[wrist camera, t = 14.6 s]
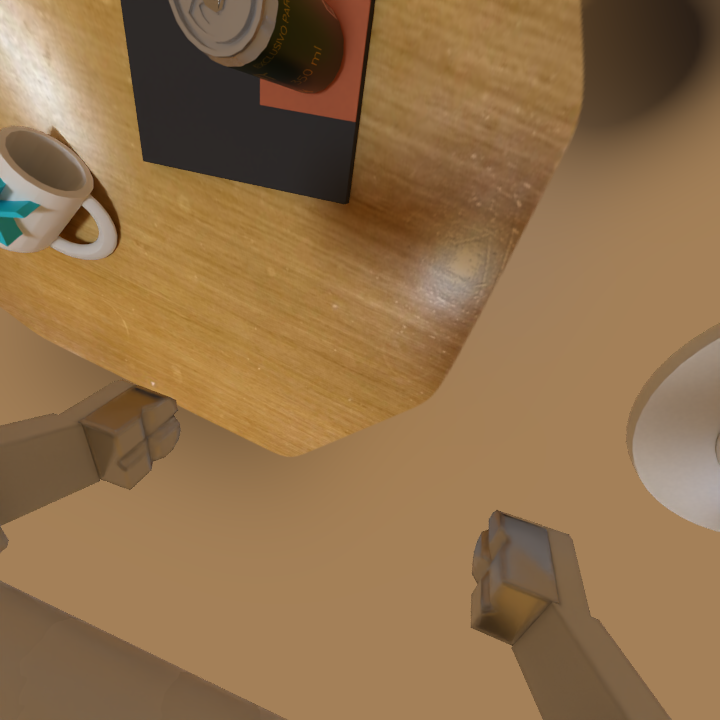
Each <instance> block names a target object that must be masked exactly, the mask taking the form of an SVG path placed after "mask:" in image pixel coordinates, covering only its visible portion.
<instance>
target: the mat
mask: <svg viewBox="0 0 720 720" xmlns="http://www.w3.org/2000/svg"><path fill="white" fill-rule="evenodd" d="M324 1H325V2H326V3H327V4H328V5H329V6H330V7H331V8H332V9H333V11H334V13H335V15H336V17H337V18H338V20H339V22H340V25H341V30H342V34H343V38H344V45H343V58H342V62H341V66H340V69H339V71H338V73H337V75H336V77H335V78H334V80H333V81H332V82H331V83H330V84H329V85H328V86H327V87H326V88H325V89H324V90H321V91H319V92H316V93H301V92H299V91H296V90H293V89H290V88H287V87H284V86H281V85H278V84H275V83H273V82H270V81H267V80H264V79H261V78H258V77H255V76H252V75H249V74H247V73H244V72H241V71H238V70H235V69H232V68H229V67H226V66H224V65H222V64H219V63H217V62H215V61H212V60H211V59H210V58H209V57H208V56H207V55H206V54H204V53H203V52H202V51H201V50H200V49H198V48H197V47H196V46H195V45H194V44H193V43H192V42H191V41H190V40H189V39H188V38H187V37H186V35H185V34H184V32H183V31H182V29H181V28H180V26H179V25H178V23H177V21H176V19H175V16H174V13H173V11H172V8H171V5H170V3H169V0H121V6H122V13H123V21H124V28H125V35H126V42H127V49H128V56H129V63H130V70H131V77H132V84H133V91H134V98H135V105H136V113H137V120H138V127H139V134H140V141H141V148H142V155H143V161H146V162H150V163H155V164H160V165H164V166H169V167H174V168H178V169H183V170H188V171H192V172H197V173H202V174H206V175H211V176H215V177H220V178H225V179H229V180H234V181H239V182H243V183H248V184H253V185H257V186H262V187H267V188H271V189H276V190H281V191H285V192H290V193H295V194H299V195H304V196H308V197H313V198H318V199H322V200H327V201H332V202H336V203H341V204H347V203H349V197H350V189H351V181H352V174H353V166H354V158H355V150H356V143H357V135H358V127H359V119H360V112H361V104H362V96H363V88H364V81H365V73H366V65H367V57H368V50H369V42H370V34H371V26H372V19H373V11H374V3H375V0H324Z"/></svg>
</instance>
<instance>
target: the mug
mask: <svg viewBox="0 0 720 720" xmlns="http://www.w3.org/2000/svg"><path fill="white" fill-rule="evenodd" d="M93 188H94V185H93V177H92V175H91V173H90V171H89V169H88V167H87V166H86V165H85V163H84V162H83V161H82V159H81V158H80V157H79V156H77V155H76V154H75V153H74V152H73V151H72V150H71V149H70V148H69V147H67V146H66V145H64V144H63V143H61V142H60V141H59V140H57V139H55V138H53V137H51V136H49V135H47V134H45V133H44V132H41V131H38V130H35V129H32V128H29V127H23V126H10V127H5V128H3V129H2V130H1V131H0V247H1V248H3V249H6V250H9V251H14V252H21V253H30V252H37V251H41V250H43V249H46V248H48V247H49V246H50V247H52V248H54V249H55V250H57V251H59V252H61V253H64V254H66V255H69V256H71V257H75V258H80V259H84V260H98V259H102V258H105V257H107V256H108V255H110V254H111V253H113V251H114V249H115V248H116V246H117V237H118V236H117V232H116V228H115V225H114V223H113V221H112V219H111V217H110V216H109V214H108V213H107V211H106V210H105V209H104V208H103V207H102V205H101V204H100V203H99V202H98V201H97V200H96V199H95V198H94V197H92V196H91V195H90V193H91V191H92V190H93ZM81 205H82V206H83V207H84V208H85V209H86V210H87V211H88V212H89V213H90V214H91V215H92V217H93V218H94V220H95V221H96V223H97V225H98V229H99V237H98V239H97V240H96V241H95V242H94V243H91V244H77V243H73V242H70V241H68V240H65V239H63V238H61V237H60V236H59V234H60V233H61V232H62V231H63V229H64V228H65V227H66V225H67V224H68V223H69V221H70V220H71V219H72V217H73V216H74V215H75V213H76V212H77V211H78V209H79V208H80V207H81Z"/></svg>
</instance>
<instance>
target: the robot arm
mask: <svg viewBox="0 0 720 720" xmlns="http://www.w3.org/2000/svg"><path fill="white" fill-rule="evenodd" d="M177 411H178V408H177V403H176V400H175V399H173V398H171V397H168V396H165V395H163V394H160V393H157V392H155V391H152V390H150V389H147V388H144V387H142V386H139V385H136V384H133V383H130V382H128V381H125V380H118V381H114V382H112V383H110V384H109V385H107V386H105V387H104V388H102V389H101V390H99V391H97V392H96V393H94V394H92V395H91V396H89V397H87V398H86V399H84V400H82V401H81V402H79V403H77V404H76V405H74V406H73V407H71V408H69V409H67V410H66V411H64V412H63V413H61V414H59V415H57V414H54V413H53V414H48V415H44V416H39V417H35V418H31V419H27V420H23V421H18V422H14V423H10V424H5V425H1V426H0V526H1V525H3V524H6V523H8V522H10V521H12V520H15V519H17V518H19V517H21V516H23V515H26V514H28V513H30V512H32V511H34V510H37V509H39V508H41V507H43V506H46V505H48V504H50V503H52V502H55V501H57V500H59V499H61V498H63V497H65V496H68V495H70V494H72V493H74V492H77V491H79V490H81V489H83V488H86V487H88V486H90V485H92V484H94V483H96V482H99V481H100V479H101V480H104V481H107V482H110V483H112V484H115V485H118V486H120V487H124V488H126V489H129V490H130V489H132V488H133V487H134V486H135V485H136V484H137V483H138V482H139V481H140V480H141V479H142V478H143V477H145V475H147V474H148V473H149V472H150V471H151V469H152V463H153V461H156V460H159V459H161V458H164V457H166V455H168V454H169V453H170V452H171V451H172V450H173V448H174V446H175V445H176V443H177V441H178V439H179V436H180V423H179V422H178V420H177V419H176V418H175V416H174V414H175V413H176V412H177ZM716 457H717V460H718V463H719V465H720V433H719V435H718V438H717V441H716ZM8 541H9V540H8V539H7V537H6V535H5V534H4V532H3V530H2V529H1V527H0V552H1V551H3V550H4V549H5V548H6V547H7V545H8ZM472 566H473V567H472V575H473V576H474V578H475V580H476V582H477V584H478V585H477V586H476V588H475V590H474V591H473V593H472V597H471V628H473V629H475V630H478V631H480V632H482V633H485V634H487V635H489V636H491V637H494V638H496V639H498V640H501V641H503V642H505V643H508V644H510V645H512V646H513V647H512V650H513V652H514V654H515V657H516V659H517V661H518V663H519V666H520V668H521V670H522V673H523V675H524V677H525V680H526V682H527V684H528V686H529V689H530V691H531V693H532V695H533V698H534V700H535V702H536V705H537V707H538V709H539V712H540V714H541V716H542V718H543V720H671V718H670V717H669V716H668V714H667V713H666V711H665V710H664V709H663V707H662V706H661V705H660V703H659V702H658V700H657V699H656V698H655V696H654V695H653V693H652V692H651V691H650V689H649V688H648V687H647V685H646V684H645V682H644V681H643V680H642V678H641V677H640V676H639V675H638V673H637V671H636V670H635V669H634V667H633V666H632V665H631V663H630V662H629V660H628V659H627V658H626V656H625V655H624V654H623V652H622V651H621V649H620V648H619V647H618V645H617V644H616V643H615V641H614V640H613V638H612V637H611V636H610V634H609V633H608V632H607V631H606V629H605V627H604V626H603V625H602V623H601V622H600V621H599V620H598V619H596V618H593V617H591V616H590V611H589V607H588V603H587V599H586V595H585V590H584V586H583V582H582V578H581V574H580V570H579V565H578V561H577V557H576V553H575V549H574V544H573V540H572V539H571V537H570V536H569V534H566V533H562V532H560V531H556V530H554V529H551V528H548V527H545V526H542V525H540V524H537V523H534V522H531V521H528V520H525V519H522V518H519V517H516V516H513V515H510V514H507V513H504V512H501V511H498V510H496V511H495V512H493V514H492V515H491V517H490V519H489V530H486V531H483V532H482V533H481V535H480V537H479V539H478V541H477V544H476V547H475V551H474V556H473V564H472ZM0 720H287V719H285V718H283V717H281V716H279V715H277V714H274V713H272V712H270V711H268V710H266V709H264V708H262V707H260V706H258V705H256V704H254V703H252V702H249V701H248V700H246V699H243V698H241V697H239V696H237V695H235V694H233V693H231V692H229V691H227V690H225V689H223V688H221V687H219V686H217V685H215V684H212V683H211V682H208V681H206V680H204V679H202V678H200V677H198V676H196V675H194V674H192V673H190V672H188V671H186V670H183V669H181V668H179V667H178V666H175V665H173V664H171V663H169V662H167V661H165V660H163V659H161V658H159V657H157V656H155V655H153V654H151V653H148V652H146V651H144V650H142V649H140V648H138V647H136V646H134V645H132V644H130V643H128V642H126V641H124V640H122V639H120V638H118V637H116V636H114V635H111V634H109V633H107V632H105V631H103V630H101V629H99V628H97V627H95V626H93V625H91V624H89V623H87V622H85V621H83V620H81V619H78V618H76V617H74V616H72V615H70V614H68V613H66V612H64V611H62V610H60V609H58V608H56V607H54V606H52V605H50V604H47V603H45V602H43V601H41V600H39V599H37V598H35V597H33V596H31V595H29V594H27V593H24V592H22V591H21V590H19V589H16V588H14V587H12V586H10V585H8V584H6V583H4V582H2V581H0Z"/></svg>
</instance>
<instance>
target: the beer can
mask: <svg viewBox="0 0 720 720" xmlns="http://www.w3.org/2000/svg"><path fill="white" fill-rule="evenodd" d="M169 3H170V5H171V8H172V11H173V13H174V16H175V19H176V21H177V23H178V25H179V26H180V28H181V29H182V31H183V32H184V34H185V35H186V37H187V38H188V39H189V40H190V41H191V42H192V43H193V44H194V45H195V46H196V47H197V48H198V49H200V50H201V51H202V52H203V53H204V54H206V55H207V56H208V57H209V58H210V59H211V60H212V61H215V62H217V63H219V64H222V65H224V66H226V67H229V68H232V69H235V70H238V71H241V72H244V73H247V74H249V75H252V76H255V77H258V78H261V79H264V80H267V81H270V82H273V83H275V84H278V85H281V86H284V87H287V88H290V89H293V90H296V91H299V92H301V93H316V92H319V91H321V90H324V89H325V88H326V87H327V86H328V85H329V84H330V83H331V82H332V81H333V80H334V78H335V77H336V75H337V73H338V71H339V69H340V66H341V62H342V58H343V45H344V38H343V34H342V30H341V25H340V22H339V20H338V18H337V17H336V15H335V13H334V11H333V9H332V8H331V7H330V6H329V5H328V4H327V3H326V2H325V1H324V0H169Z"/></svg>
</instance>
